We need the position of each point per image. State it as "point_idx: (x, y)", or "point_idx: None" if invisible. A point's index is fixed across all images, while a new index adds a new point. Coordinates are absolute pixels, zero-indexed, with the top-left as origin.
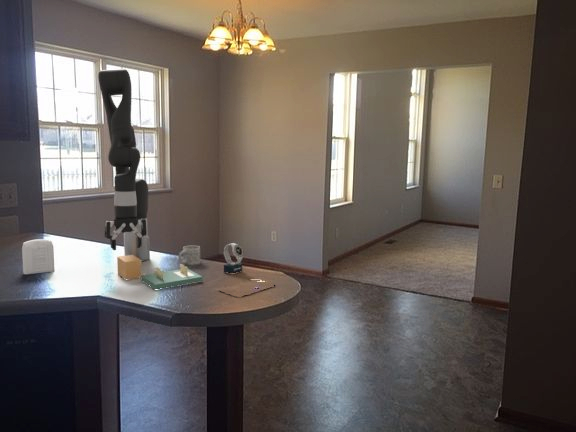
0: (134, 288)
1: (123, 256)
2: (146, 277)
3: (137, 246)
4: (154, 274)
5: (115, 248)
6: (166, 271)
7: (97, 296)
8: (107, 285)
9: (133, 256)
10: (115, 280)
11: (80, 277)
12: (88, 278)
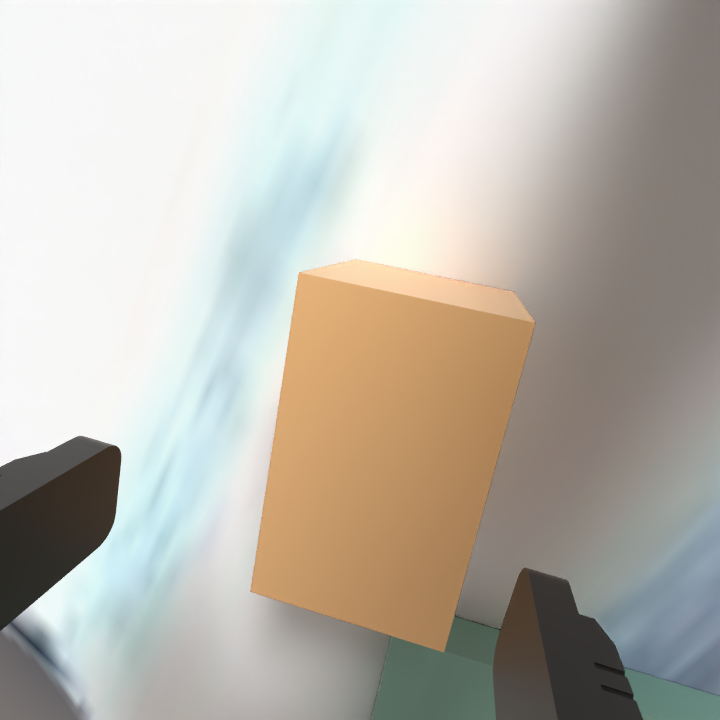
0: (263, 695)
1: (371, 328)
2: (386, 713)
3: (507, 631)
4: (492, 701)
5: (81, 552)
6: (647, 715)
7: (30, 645)
8: (150, 503)
9: (480, 431)
10: (247, 434)
11: (55, 127)
12: (99, 212)
